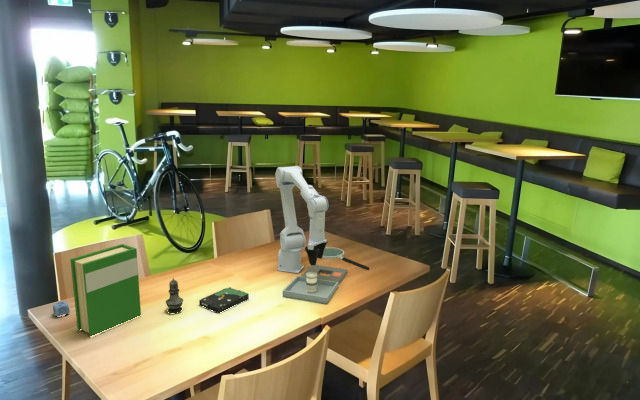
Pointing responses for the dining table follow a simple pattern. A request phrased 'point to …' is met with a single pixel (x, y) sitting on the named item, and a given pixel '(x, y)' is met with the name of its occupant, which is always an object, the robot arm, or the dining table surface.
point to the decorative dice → (61, 308)
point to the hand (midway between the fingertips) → (316, 261)
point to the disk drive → (224, 299)
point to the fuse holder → (335, 273)
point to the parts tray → (299, 292)
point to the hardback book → (106, 288)
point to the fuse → (311, 282)
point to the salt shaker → (174, 298)
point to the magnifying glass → (339, 256)
